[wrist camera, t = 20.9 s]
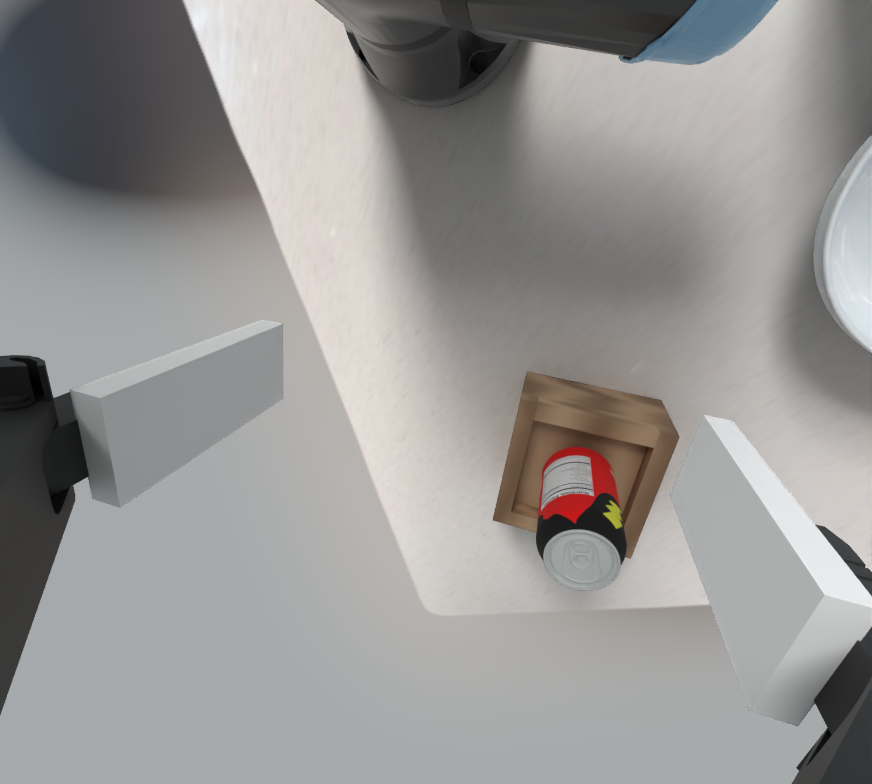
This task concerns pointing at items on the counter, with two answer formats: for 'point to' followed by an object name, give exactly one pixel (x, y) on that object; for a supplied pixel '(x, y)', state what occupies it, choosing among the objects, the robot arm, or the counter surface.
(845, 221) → the serving bowl
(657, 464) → the brown open box
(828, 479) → the counter surface
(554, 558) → the beverage can
